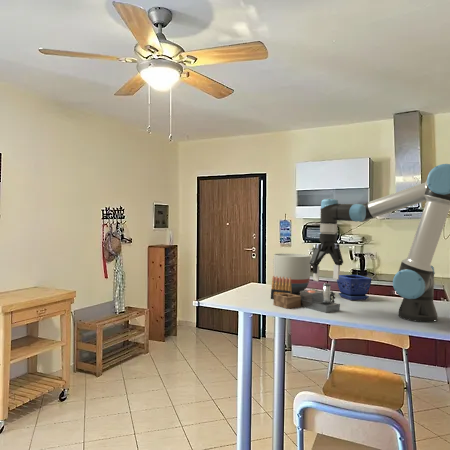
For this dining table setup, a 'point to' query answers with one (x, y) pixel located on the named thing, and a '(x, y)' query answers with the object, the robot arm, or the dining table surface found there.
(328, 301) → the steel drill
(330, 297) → the valve
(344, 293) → the flower pot
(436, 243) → the robot arm
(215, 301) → the dining table surface
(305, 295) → the socket block
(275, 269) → the planter
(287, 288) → the ammunition clip
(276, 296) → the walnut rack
